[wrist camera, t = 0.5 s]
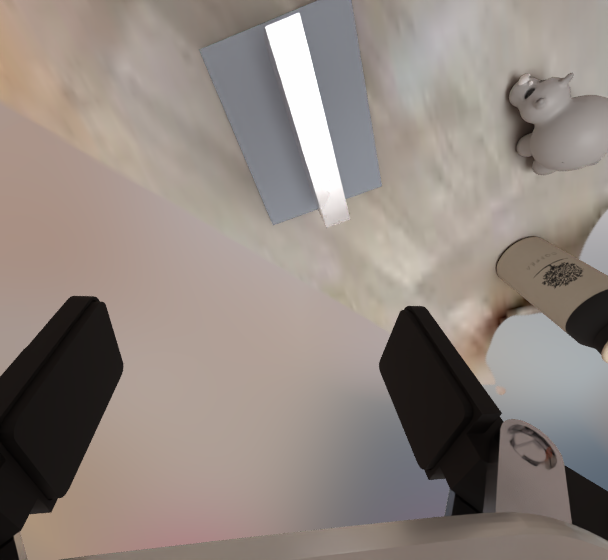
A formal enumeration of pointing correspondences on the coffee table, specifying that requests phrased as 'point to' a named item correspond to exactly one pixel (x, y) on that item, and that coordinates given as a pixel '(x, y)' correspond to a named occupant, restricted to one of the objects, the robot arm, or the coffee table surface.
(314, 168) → the steel ridge
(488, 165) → the coffee table surface
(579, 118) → the round bodied animal figurine
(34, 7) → the coffee table surface
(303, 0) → the coffee table surface
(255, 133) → the fulcrum base
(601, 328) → the travel mug
